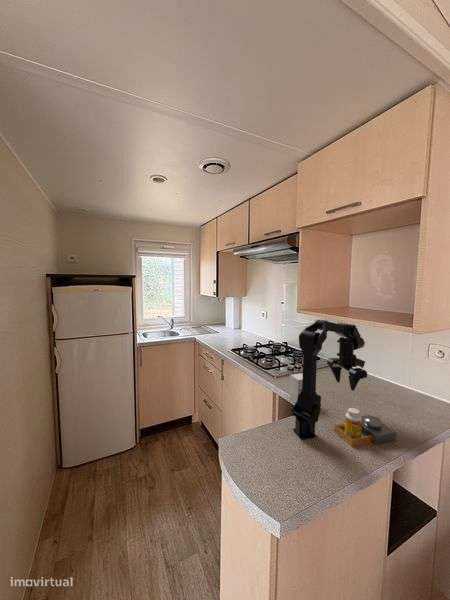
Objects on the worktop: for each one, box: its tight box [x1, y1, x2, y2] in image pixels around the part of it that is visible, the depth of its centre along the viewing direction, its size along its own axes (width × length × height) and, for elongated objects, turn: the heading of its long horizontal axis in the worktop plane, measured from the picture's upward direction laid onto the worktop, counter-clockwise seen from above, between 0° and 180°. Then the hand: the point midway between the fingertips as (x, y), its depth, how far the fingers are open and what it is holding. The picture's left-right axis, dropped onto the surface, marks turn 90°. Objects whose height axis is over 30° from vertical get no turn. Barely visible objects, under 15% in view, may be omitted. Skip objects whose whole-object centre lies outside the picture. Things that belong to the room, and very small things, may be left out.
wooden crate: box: [333, 414, 397, 447], centre depth 94 cm, size 18×12×6 cm
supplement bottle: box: [344, 407, 362, 438], centre depth 93 cm, size 6×6×10 cm
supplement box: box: [289, 372, 303, 405], centre depth 121 cm, size 7×7×13 cm
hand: (345, 386), depth 110 cm, fingers open, 9 cm apart
